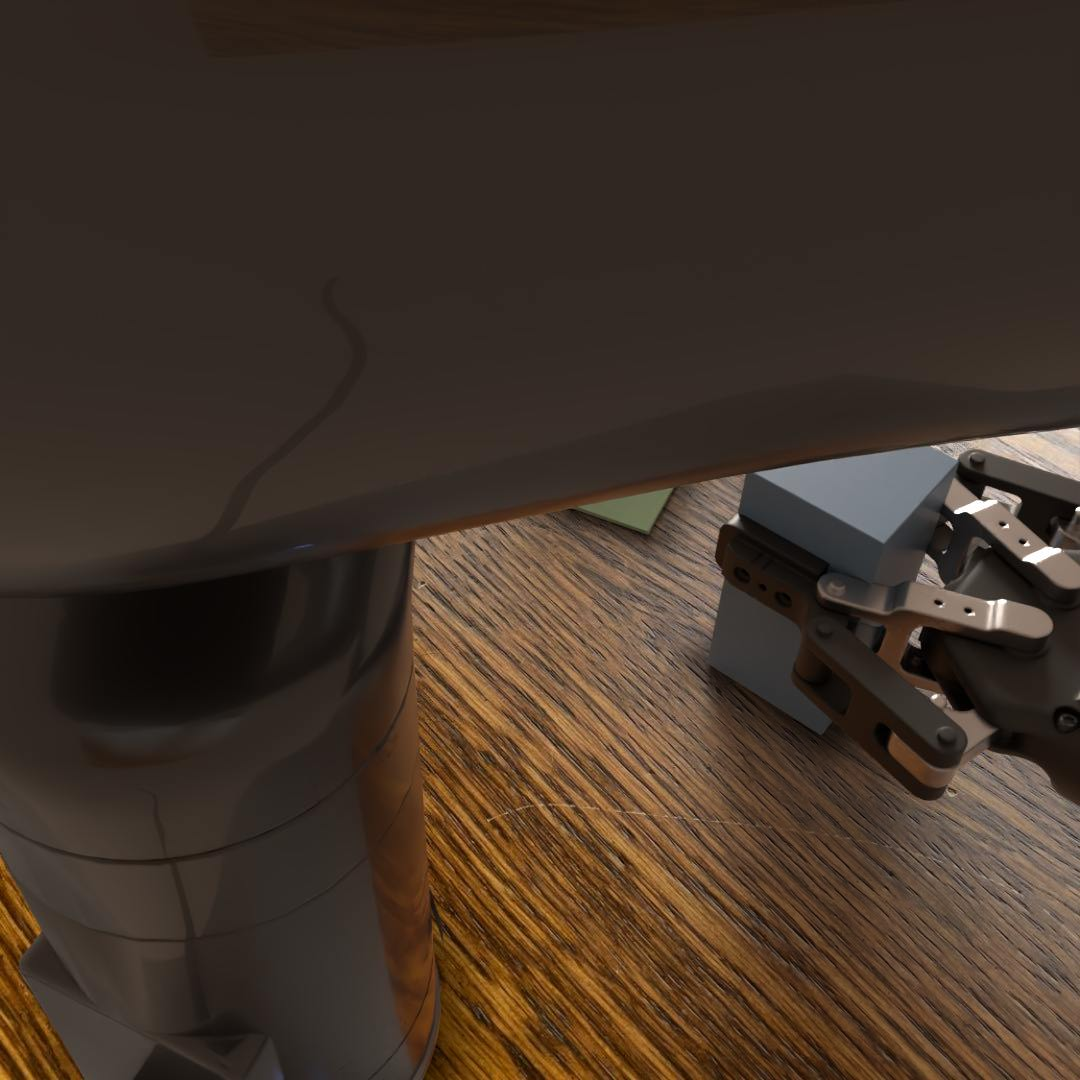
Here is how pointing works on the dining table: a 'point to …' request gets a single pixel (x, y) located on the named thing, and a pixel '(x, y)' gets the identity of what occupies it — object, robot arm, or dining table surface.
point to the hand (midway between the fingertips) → (770, 494)
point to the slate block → (828, 553)
